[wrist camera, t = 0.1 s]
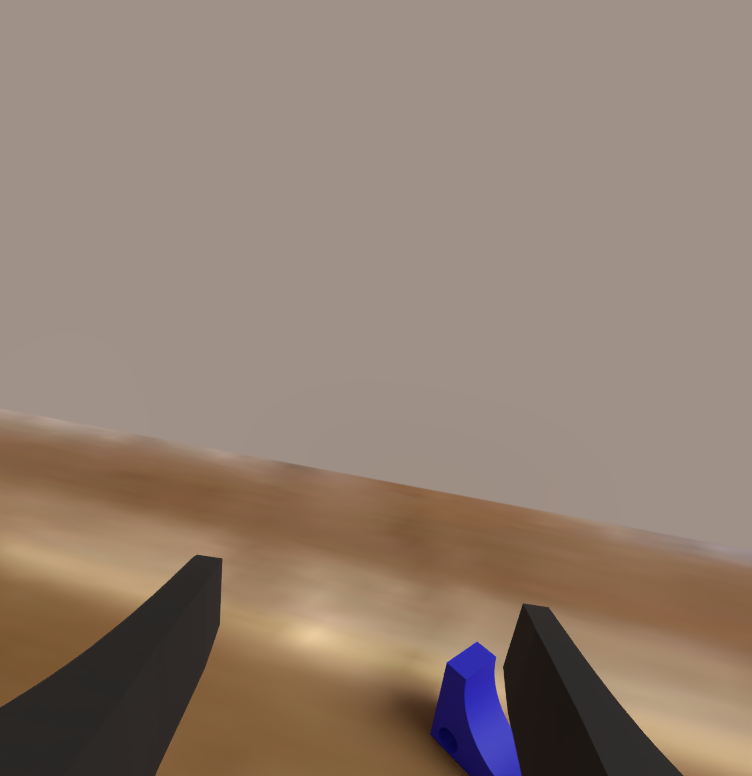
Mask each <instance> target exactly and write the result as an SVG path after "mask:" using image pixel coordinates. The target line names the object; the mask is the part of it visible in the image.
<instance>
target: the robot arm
mask: <svg viewBox="0 0 752 776" xmlns="http://www.w3.org/2000/svg"><path fill="white" fill-rule="evenodd" d="M221 580H222V558H215V557H208V556H202V555H196V556H194V557H193V558H192V559H191V560H190V561H189V562H188V563H187V564H186V565H185V566H183V567H182V568H181V569H180V570H179V571H178V572H177V573H176V574H175V575H174V576H173V577H172V578H171V579H170V580H169V581H168V582H167V583H166V584H165V585H163V586H162V587H161V588H160V589H159V590H158V591H157V592H156V593H155V594H154V595H153V596H151V597H150V598H149V599H148V600H147V601H146V602H145V603H143V604H142V605H141V606H140V607H139V608H138V609H137V610H135V611H134V612H133V613H132V614H131V615H130V616H129V617H127V618H126V619H125V620H124V621H123V622H121V623H120V624H119V625H118V626H116V627H115V628H114V629H113V630H111V631H110V632H109V633H108V634H106V635H105V636H104V637H103V638H101V639H100V640H99V641H98V642H96V643H95V644H94V645H93V646H91V647H90V648H89V649H87V650H86V651H85V652H83V653H82V654H81V655H79V656H78V657H77V658H75V659H74V660H72V661H71V662H70V663H68V664H67V665H65V666H64V667H62V668H61V669H60V670H58V671H57V672H55V673H54V674H52V675H51V676H49V677H48V678H46V679H45V680H43V681H42V682H40V683H39V684H37V685H36V686H34V687H32V688H31V689H29V690H28V691H26V692H25V693H23V694H21V695H20V696H18V697H17V698H15V699H14V700H12V701H10V702H9V703H7V704H5V705H4V706H2V707H0V776H155V775H156V772H157V770H158V767H159V765H160V763H161V761H162V759H163V757H164V755H165V752H166V750H167V748H168V746H169V744H170V742H171V740H172V737H173V735H174V733H175V731H176V729H177V727H178V725H179V722H180V720H181V718H182V716H183V714H184V712H185V710H186V708H187V705H188V703H189V701H190V699H191V697H192V695H193V692H194V690H195V688H196V686H197V684H198V682H199V680H200V677H201V675H202V673H203V671H204V669H205V666H206V663H207V660H208V657H209V655H210V652H211V649H212V646H213V643H214V640H215V637H216V634H217V631H218V628H219V625H220V604H221ZM503 669H504V680H505V691H506V700H507V708H508V715H509V720H510V725H511V729H512V734H513V739H514V743H515V748H516V753H517V757H518V762H519V766H520V771H521V775H522V776H683V775H682V774H681V773H680V772H679V771H678V769H677V768H676V767H675V766H674V765H673V764H672V763H671V762H670V761H669V760H668V759H667V758H666V757H665V756H664V755H663V754H662V752H661V751H660V750H659V749H658V748H657V747H656V746H655V745H654V744H653V743H652V741H651V740H650V739H649V738H648V737H647V736H646V735H645V734H644V732H643V731H642V730H641V729H640V728H639V726H638V725H637V724H636V723H635V722H634V720H633V719H632V718H631V717H630V716H629V714H628V713H627V712H626V711H625V710H624V709H623V707H622V706H621V705H620V704H619V702H618V701H617V700H616V699H615V697H614V696H613V695H612V694H611V692H610V691H609V690H608V688H607V687H606V686H605V684H604V683H603V682H602V680H601V679H600V678H599V677H598V675H597V674H596V673H595V671H594V670H593V669H592V667H591V666H590V665H589V663H588V662H587V660H586V659H585V658H584V656H583V655H582V654H581V652H580V651H579V649H578V648H577V647H576V645H575V644H574V642H573V641H572V640H571V638H570V637H569V635H568V634H567V633H566V631H565V630H564V628H563V627H562V626H561V624H560V623H559V621H558V620H557V619H556V617H555V616H554V614H553V613H552V612H551V610H550V609H549V607H543V606H536V605H529V604H523V605H522V608H521V611H520V615H519V618H518V621H517V624H516V627H515V631H514V634H513V637H512V640H511V643H510V647H509V650H508V653H507V656H506V659H505V663H504V666H503Z"/></svg>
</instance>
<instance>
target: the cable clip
mask: <svg viewBox="0 0 752 776" xmlns="http://www.w3.org/2000/svg"><path fill="white" fill-rule="evenodd" d="M495 661H496V656H494V655H493V654H492V653H491V652H489V651H488V650H487V649H486V648H484V647H483V646H482V645H481V644H479V643H478V642H476V643H475V644H473V645H472V646H470V647H469V648H467V649H466V650H464V651H463V652H461V653H460V654H459V655H457V656H456V657H454V658H453V659H451V660H450V661H448V662H447V664H446V669H445V673H444V677H443V682H442V686H441V691H440V695H439V699H438V704H437V708H436V712H435V717H434V721H433V725H432V730H431V736H432V737H433V738H434V739H435V740H436V741H437V742H438V743H439V744H440V745H441V746H442V747H443V748H444V749H445V750H446V751H447V752H448V753H449V754H450V755H451V756H452V757H453V758H454V759H455V760H456V762H457V763H458V764H459V765H460V766H461V767H462V768H463V769H464V770H465V771H466V772H467V773H468V774H469V775H470V776H522V775H521V771H520V766H519V762H518V757H517V753H516V748H515V743H514V739H513V734H512V729H511V727H510V725H509V723H508V721H507V719H506V718H505V715H504V713H503V711H502V708H501V705H500V702H499V699H498V695H497V691H496V686H495V678H494V669H495Z"/></svg>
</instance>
